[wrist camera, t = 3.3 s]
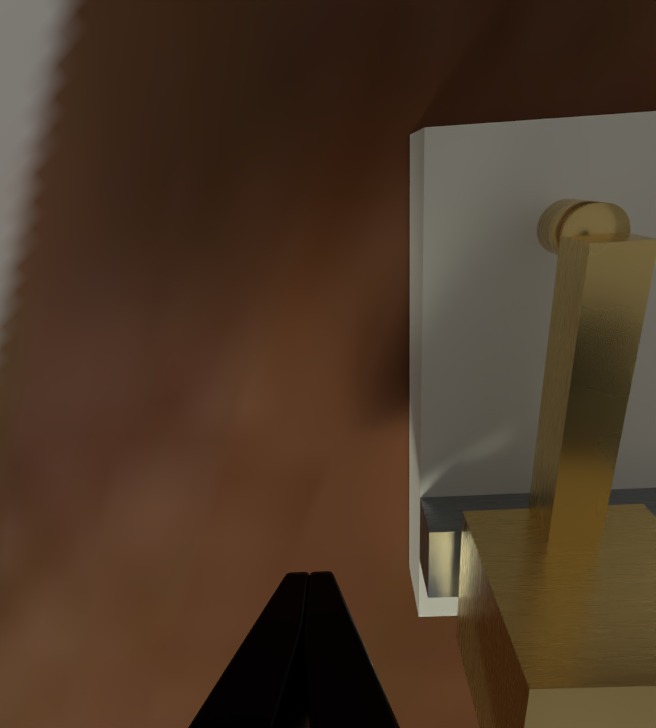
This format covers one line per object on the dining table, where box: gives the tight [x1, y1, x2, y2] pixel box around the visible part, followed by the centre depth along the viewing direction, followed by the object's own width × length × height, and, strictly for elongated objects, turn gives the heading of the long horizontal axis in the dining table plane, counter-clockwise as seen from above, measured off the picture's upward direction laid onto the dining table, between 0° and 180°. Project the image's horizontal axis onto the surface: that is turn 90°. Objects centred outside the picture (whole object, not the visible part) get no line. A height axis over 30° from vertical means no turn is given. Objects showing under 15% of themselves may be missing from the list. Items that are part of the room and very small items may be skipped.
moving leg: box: [456, 199, 656, 728], centre depth 7 cm, size 3×8×4 cm, turn 4°
